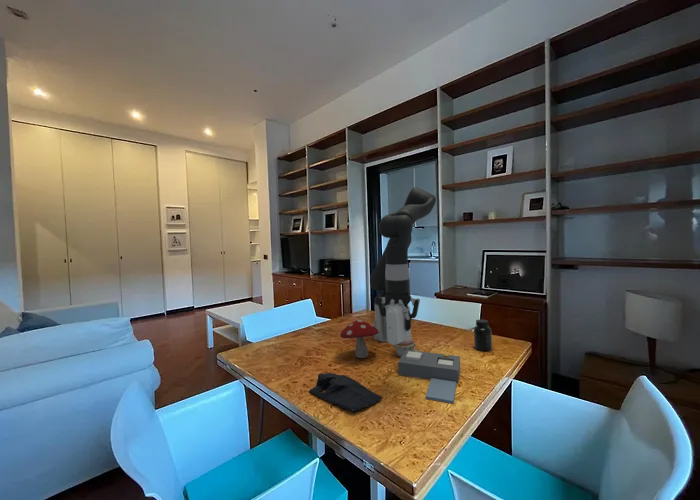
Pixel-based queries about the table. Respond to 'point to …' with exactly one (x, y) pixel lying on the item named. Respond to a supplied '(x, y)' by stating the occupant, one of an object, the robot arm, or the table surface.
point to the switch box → (430, 366)
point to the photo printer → (396, 324)
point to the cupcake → (404, 346)
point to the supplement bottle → (482, 336)
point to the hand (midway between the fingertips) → (399, 329)
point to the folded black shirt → (344, 391)
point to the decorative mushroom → (359, 335)
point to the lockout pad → (441, 390)
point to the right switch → (445, 362)
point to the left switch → (414, 356)
